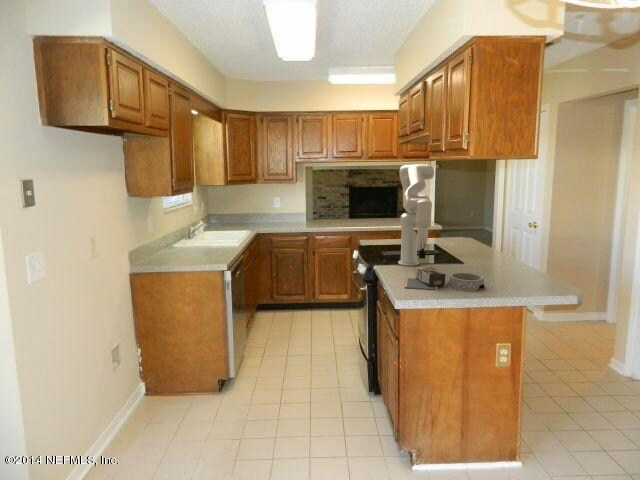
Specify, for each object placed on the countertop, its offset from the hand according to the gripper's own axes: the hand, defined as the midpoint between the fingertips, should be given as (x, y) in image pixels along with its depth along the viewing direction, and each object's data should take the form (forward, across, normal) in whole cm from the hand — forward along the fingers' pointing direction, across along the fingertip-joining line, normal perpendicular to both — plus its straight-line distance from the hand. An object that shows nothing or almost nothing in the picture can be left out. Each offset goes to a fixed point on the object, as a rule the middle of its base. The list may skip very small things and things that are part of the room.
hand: (422, 258), depth 240 cm
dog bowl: (+13, +6, +22) cm, 26 cm away
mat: (+12, +8, 0) cm, 15 cm away
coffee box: (+8, -2, +1) cm, 9 cm away
